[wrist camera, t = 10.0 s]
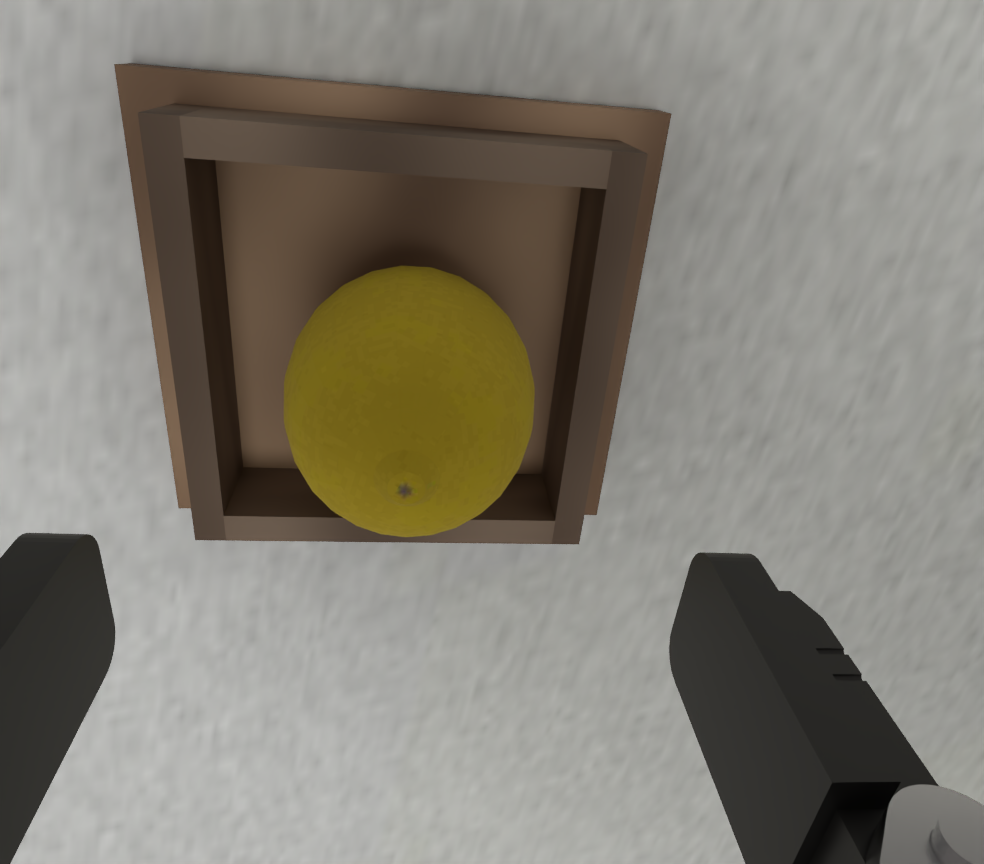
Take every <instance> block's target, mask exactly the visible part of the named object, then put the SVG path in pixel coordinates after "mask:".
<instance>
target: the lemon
mask: <svg viewBox="0 0 984 864" xmlns="http://www.w3.org/2000/svg"><path fill="white" fill-rule="evenodd" d="M534 396H535V386H534V381H533V376H532V372H531V368H530V363H529V359H528V355H527V351H526V348H525V346H524V344H523V342H522V340H521V338H520V336H519V335H518V333H517V331H516V329H515V327H514V325H513V323H512V322H511V320H510V318H509V317H508V315H507V314H506V313H505V312H504V311H503V310H502V309H501V308H500V307H499V306H498V305H497V304H496V303H495V302H494V301H493V300H492V299H491V298H490V296H489V295H488V294H487V293H485V292H484V291H483V290H481V289H479V288H478V287H476V286H474V285H473V284H471V283H470V282H468V281H466V280H465V279H463V278H461V277H460V276H457V275H454V274H451V273H447V272H444V271H441V270H438V269H435V268H432V267H417V266H396V267H391V268H386V269H381V270H376V271H371V272H369V273H367V274H365V275H363V276H361V277H359V278H357V279H355V280H352V281H350V282H348V283H346V284H344V285H343V286H341V287H340V288H339V289H338V290H337V291H336V292H334V293H333V294H332V295H331V296H330V297H329V298H327V299H326V300H325V301H324V302H323V303H322V304H320V305H319V306H318V307H317V309H316V310H315V311H314V313H313V314H312V316H311V317H310V319H309V320H308V322H307V323H306V325H305V326H304V328H303V330H302V331H301V333H300V334H299V336H298V338H297V339H296V342H295V345H294V348H293V352H292V355H291V358H290V361H289V364H288V368H287V371H286V374H285V380H284V425H285V430H286V433H287V437H288V440H289V444H290V447H291V451H292V454H293V458H294V461H295V463H296V465H297V467H298V468H299V470H300V472H301V473H302V475H303V477H304V478H305V480H306V482H307V483H308V485H309V487H310V488H311V490H312V491H313V492H314V493H315V494H316V495H317V496H318V497H319V498H320V499H321V500H322V501H323V502H324V503H325V504H326V505H327V506H328V507H329V508H330V509H331V510H332V511H333V512H335V513H336V514H338V515H340V516H341V517H343V518H345V519H346V520H348V521H349V522H351V523H353V524H354V525H356V526H359V527H361V528H364V529H367V530H370V531H373V532H376V533H379V534H384V535H392V536H400V537H415V536H427V535H433V534H437V533H440V532H444V531H447V530H450V529H454V528H456V527H458V526H460V525H462V524H464V523H465V522H467V521H469V520H471V519H473V518H475V517H476V516H478V515H480V514H481V513H482V512H483V511H485V510H486V509H487V508H488V507H489V506H490V505H491V504H492V503H493V502H495V501H496V500H497V499H498V498H499V497H500V496H501V495H502V493H503V492H504V490H505V489H506V487H507V486H508V484H509V483H510V481H511V480H512V478H513V477H514V475H515V474H516V472H517V471H518V469H519V467H520V465H521V462H522V460H523V457H524V454H525V451H526V448H527V445H528V442H529V439H530V436H531V432H532V427H533V416H534Z"/></svg>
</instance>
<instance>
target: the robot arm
mask: <svg viewBox="0 0 984 864" xmlns="http://www.w3.org/2000/svg"><path fill="white" fill-rule="evenodd" d="M114 645H115V624H114V618H113V613H112V608H111V603H110V599H109V594H108V589H107V584H106V579H105V574H104V569H103V564H102V560H101V555H100V550H99V546H98V543H97V541H96V540H95V538H94V537H93V536H91V535H88V534H51V533H25V534H22V535H21V536H19V537H18V538H17V539H16V540H15V541H14V542H13V544H12V545H11V546H10V547H9V548H8V550H7V551H6V552H5V553H4V555H3V556H2V557H1V558H0V864H10V863H11V861H12V859H13V857H14V855H15V853H16V851H17V849H18V847H19V845H20V843H21V841H22V839H23V837H24V835H25V833H26V831H27V829H28V827H29V825H30V824H31V822H32V820H33V818H34V816H35V814H36V812H37V810H38V808H39V806H40V804H41V802H42V800H43V798H44V796H45V794H46V792H47V790H48V788H49V786H50V784H51V782H52V780H53V778H54V776H55V774H56V772H57V770H58V768H59V767H60V765H61V763H62V761H63V759H64V757H65V755H66V753H67V751H68V749H69V747H70V745H71V743H72V741H73V739H74V737H75V735H76V733H77V731H78V729H79V727H80V725H81V723H82V721H83V719H84V717H85V715H86V713H87V711H88V709H89V708H90V706H91V704H92V702H93V700H94V698H95V696H96V694H97V692H98V690H99V688H100V686H101V684H102V682H103V680H104V678H105V676H106V674H107V672H108V669H109V666H110V663H111V660H112V656H113V651H114ZM843 650H844V648H843V647H842V645H841V644H840V642H839V641H838V639H837V638H836V636H835V635H834V633H833V632H832V631H831V629H830V628H829V626H828V625H827V623H826V622H825V620H824V619H823V618H822V617H821V616H820V615H819V614H818V613H816V612H815V611H814V610H813V609H811V608H810V607H809V606H808V605H807V604H805V603H804V602H803V601H802V600H801V599H799V598H798V597H797V596H796V595H794V594H793V593H792V592H791V591H778V589H777V587H776V586H775V584H774V583H773V581H772V580H771V578H770V577H769V575H768V573H767V572H766V570H765V569H764V567H763V566H762V564H761V563H760V561H759V560H758V559H757V558H756V557H755V556H754V555H752V554H738V553H698V554H696V555H695V556H694V558H693V560H692V562H691V564H690V568H689V571H688V575H687V578H686V582H685V585H684V589H683V592H682V596H681V599H680V603H679V606H678V610H677V613H676V617H675V621H674V624H673V628H672V631H671V636H670V646H669V653H670V664H671V670H672V674H673V677H674V680H675V683H676V686H677V688H678V691H679V693H680V696H681V698H682V701H683V704H684V706H685V709H686V711H687V714H688V716H689V719H690V722H691V724H692V727H693V729H694V732H695V735H696V737H697V740H698V742H699V745H700V747H701V750H702V753H703V755H704V758H705V760H706V763H707V765H708V768H709V771H710V773H711V776H712V778H713V781H714V783H715V786H716V789H717V791H718V794H719V796H720V799H721V801H722V804H723V807H724V809H725V812H726V814H727V817H728V819H729V822H730V825H731V827H732V830H733V832H734V835H735V838H736V840H737V843H738V845H739V848H740V850H741V853H742V856H743V858H744V861H745V863H746V864H984V805H982V804H981V803H979V802H977V801H975V800H973V799H971V798H970V797H968V796H966V795H963V794H961V793H959V792H956V791H954V790H950V789H947V788H944V787H940V786H938V784H937V783H936V782H935V780H934V779H933V777H932V776H931V774H930V773H929V771H928V770H927V769H926V767H925V766H924V764H923V763H922V761H921V760H920V758H919V757H918V755H917V754H916V753H915V751H914V750H913V748H912V747H911V745H910V744H909V742H908V741H907V740H906V738H905V737H904V735H903V734H902V732H901V731H900V729H899V728H898V726H897V725H896V724H895V722H894V721H893V719H892V718H891V716H890V715H889V713H888V712H887V710H886V709H885V708H884V706H883V705H882V703H881V702H880V700H879V699H878V697H877V696H876V694H875V693H874V692H873V690H872V689H871V687H870V686H869V684H868V683H867V681H862V679H861V675H862V674H861V673H860V671H859V670H858V668H857V667H856V665H855V664H854V663H853V661H852V660H851V658H850V657H849V655H845V654H844V651H843Z"/></svg>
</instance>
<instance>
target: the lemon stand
mask: <svg viewBox="0 0 984 864" xmlns="http://www.w3.org/2000/svg"><path fill="white" fill-rule="evenodd" d="M114 65H115V72H116V79H117V86H118V93H119V100H120V106H121V113H122V120H123V127H124V134H125V141H126V148H127V155H128V162H129V168H130V175H131V182H132V189H133V196H134V203H135V210H136V217H137V224H138V231H139V237H140V244H141V251H142V258H143V265H144V272H145V279H146V286H147V293H148V299H149V306H150V313H151V320H152V327H153V334H154V341H155V348H156V355H157V361H158V368H159V375H160V382H161V389H162V396H163V403H164V410H165V417H166V424H167V430H168V437H169V444H170V451H171V458H172V465H173V472H174V479H175V486H176V492H177V499H178V506H179V508H191V511H192V518H193V526H194V533H195V540H243V541H334V542H425V543H516V544H579V541H580V535H581V530H582V524H583V519H584V515H597V509H598V504H599V499H600V493H601V488H602V482H603V477H604V472H605V466H606V461H607V456H608V450H609V445H610V440H611V434H612V429H613V423H614V418H615V413H616V407H617V402H618V397H619V391H620V386H621V381H622V375H623V370H624V365H625V359H626V354H627V348H628V343H629V338H630V332H631V327H632V322H633V316H634V311H635V306H636V300H637V295H638V289H639V284H640V279H641V273H642V268H643V263H644V257H645V252H646V247H647V241H648V236H649V231H650V225H651V220H652V214H653V209H654V204H655V198H656V193H657V188H658V182H659V177H660V172H661V166H662V161H663V155H664V150H665V145H666V139H667V134H668V129H669V123H670V118H671V114H670V113H666V112H663V111H659V110H647V109H636V108H625V107H614V106H603V105H591V104H580V103H569V102H558V101H546V100H535V99H524V98H513V97H502V96H490V95H479V94H468V93H457V92H446V91H434V90H423V89H412V88H401V87H389V86H378V85H367V84H356V83H345V82H333V81H322V80H311V79H300V78H289V77H277V76H266V75H255V74H244V73H232V72H221V71H210V70H199V69H188V68H176V67H165V66H154V65H143V64H131V63H128V64H114ZM396 266H417V267H432V268H435V269H438V270H441V271H444V272H447V273H451V274H454V275H457V276H460V277H461V278H463V279H465V280H466V281H468V282H470V283H471V284H473V285H474V286H476V287H478V288H479V289H481V290H483V291H484V292H485V293H487V294H488V295H489V296H490V298H491V299H492V300H493V301H494V302H495V303H496V304H497V305H498V306H499V307H500V308H501V309H502V310H503V311H504V312H505V313H506V314H507V315H508V317H509V318H510V320H511V322H512V323H513V325H514V327H515V329H516V331H517V333H518V335H519V336H520V338H521V340H522V342H523V344H524V346H525V348H526V351H527V355H528V359H529V363H530V368H531V372H532V376H533V381H534V386H535V396H534V416H533V427H532V432H531V436H530V439H529V442H528V445H527V448H526V451H525V454H524V457H523V460H522V462H521V465H520V467H519V469H518V471H517V472H516V474H515V475H514V477H513V478H512V480H511V481H510V483H509V484H508V486H507V487H506V489H505V490H504V492H503V493H502V495H501V496H500V497H499V498H498V499H497V500H496V501H495V502H493V503H492V504H491V505H490V506H489V507H488V508H487V509H486V510H485V511H483V512H482V513H481V514H480V515H478V516H476V517H475V518H473V519H471V520H469V521H467V522H465V523H464V524H462V525H460V526H458V527H456V528H454V529H450V530H447V531H444V532H440V533H437V534H433V535H427V536H415V537H400V536H392V535H384V534H379V533H376V532H373V531H370V530H367V529H364V528H361V527H359V526H356V525H354V524H353V523H351V522H349V521H348V520H346V519H345V518H343V517H341V516H340V515H338V514H336V513H335V512H333V511H332V510H331V509H330V508H329V507H328V506H327V505H326V504H325V503H324V502H323V501H322V500H321V499H320V498H319V497H318V496H317V495H316V494H315V493H314V492H313V491H312V490H311V488H310V487H309V485H308V483H307V482H306V480H305V478H304V477H303V475H302V473H301V472H300V470H299V468H298V467H297V465H296V463H295V461H294V458H293V454H292V451H291V447H290V444H289V440H288V437H287V433H286V430H285V425H284V380H285V374H286V371H287V368H288V364H289V361H290V358H291V355H292V352H293V348H294V345H295V342H296V339H297V338H298V336H299V334H300V333H301V331H302V330H303V328H304V326H305V325H306V323H307V322H308V320H309V319H310V317H311V316H312V314H313V313H314V311H315V310H316V309H317V307H318V306H319V305H320V304H322V303H323V302H324V301H325V300H326V299H327V298H329V297H330V296H331V295H332V294H333V293H334V292H336V291H337V290H338V289H339V288H340V287H341V286H343V285H344V284H346V283H348V282H350V281H352V280H355V279H357V278H359V277H361V276H363V275H365V274H367V273H369V272H371V271H376V270H381V269H386V268H391V267H396Z"/></svg>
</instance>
